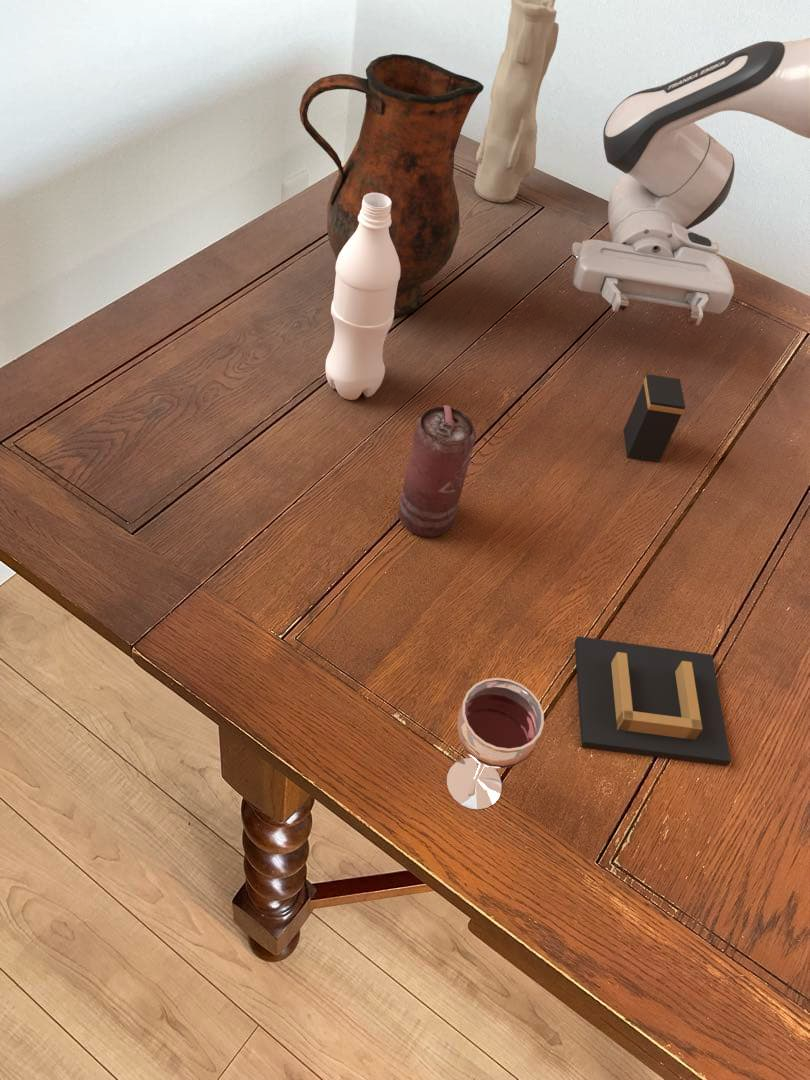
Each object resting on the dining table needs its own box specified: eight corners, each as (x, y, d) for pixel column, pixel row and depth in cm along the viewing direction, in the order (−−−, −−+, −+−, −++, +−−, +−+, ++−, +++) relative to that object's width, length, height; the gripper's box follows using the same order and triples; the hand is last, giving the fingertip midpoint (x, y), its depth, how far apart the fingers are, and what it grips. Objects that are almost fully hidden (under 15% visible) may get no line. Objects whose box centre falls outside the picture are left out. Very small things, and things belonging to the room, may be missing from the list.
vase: (489, 173, 158) (533, -27, 135) (533, 194, 155) (585, -6, 133) (461, 191, 153) (502, -13, 130) (506, 214, 150) (556, 9, 128)
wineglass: (475, 735, 89) (503, 663, 80) (527, 789, 86) (562, 721, 77) (420, 776, 86) (443, 705, 77) (473, 834, 83) (503, 767, 74)
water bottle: (336, 410, 115) (358, 222, 97) (315, 372, 119) (332, 185, 101) (391, 400, 118) (422, 215, 99) (368, 363, 122) (394, 179, 103)
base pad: (708, 659, 99) (719, 643, 96) (726, 766, 91) (739, 750, 88) (574, 641, 98) (582, 624, 96) (581, 747, 90) (590, 731, 88)
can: (446, 495, 109) (469, 401, 98) (457, 538, 105) (483, 444, 94) (393, 497, 107) (411, 401, 97) (403, 540, 103) (423, 445, 93)
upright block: (655, 434, 121) (680, 378, 114) (659, 463, 117) (686, 407, 111) (623, 429, 120) (646, 373, 114) (626, 458, 117) (651, 401, 110)
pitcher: (456, 332, 129) (505, 111, 106) (297, 336, 123) (313, 104, 101) (428, 260, 139) (467, 44, 116) (280, 260, 134) (291, 35, 111)
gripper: (577, 217, 125) (583, 278, 116) (729, 243, 127) (747, 306, 117) (564, 259, 130) (568, 321, 121) (711, 284, 131) (727, 347, 122)
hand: (658, 314), depth 119 cm, fingers open, 8 cm apart
